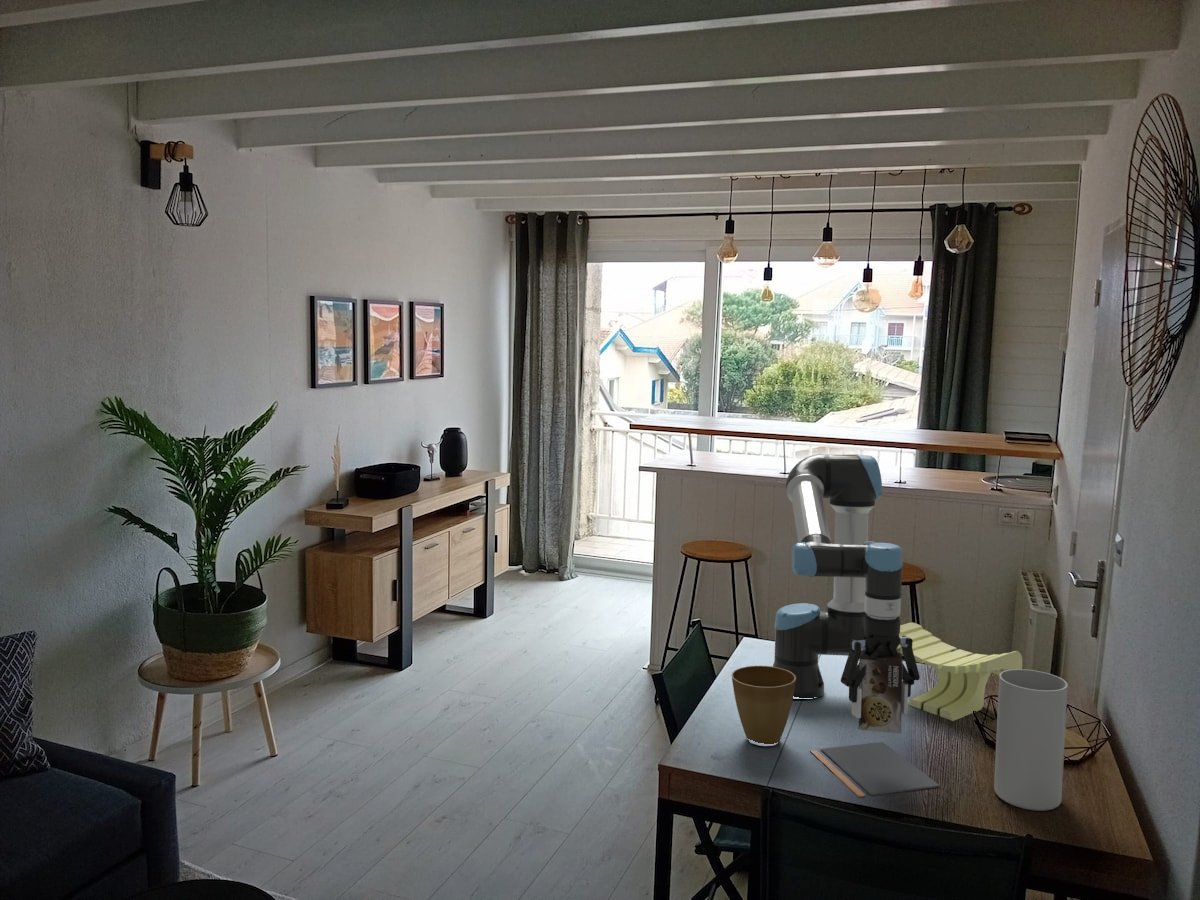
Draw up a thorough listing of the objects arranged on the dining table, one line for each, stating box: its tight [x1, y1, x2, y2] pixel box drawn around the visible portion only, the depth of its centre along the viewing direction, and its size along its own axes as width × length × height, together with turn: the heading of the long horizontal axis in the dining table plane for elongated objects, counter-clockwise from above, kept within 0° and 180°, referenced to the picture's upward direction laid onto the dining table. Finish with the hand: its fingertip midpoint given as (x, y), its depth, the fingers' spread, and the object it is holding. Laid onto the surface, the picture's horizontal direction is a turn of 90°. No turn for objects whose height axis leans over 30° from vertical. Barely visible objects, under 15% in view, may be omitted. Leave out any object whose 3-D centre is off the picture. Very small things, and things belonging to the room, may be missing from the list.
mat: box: [820, 741, 940, 796], centre depth 196 cm, size 22×16×1 cm
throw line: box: [812, 749, 866, 798], centre depth 194 cm, size 22×2×1 cm, turn 13°
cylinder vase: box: [993, 668, 1069, 812], centre depth 182 cm, size 12×12×25 cm
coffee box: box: [857, 650, 904, 734], centre depth 194 cm, size 9×6×16 cm
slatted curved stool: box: [896, 622, 1023, 722], centre depth 231 cm, size 30×16×18 cm, turn 36°
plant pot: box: [731, 665, 796, 744], centre depth 209 cm, size 15×15×16 cm
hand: (879, 713), depth 195 cm, fingers closed on coffee box, 10 cm apart
